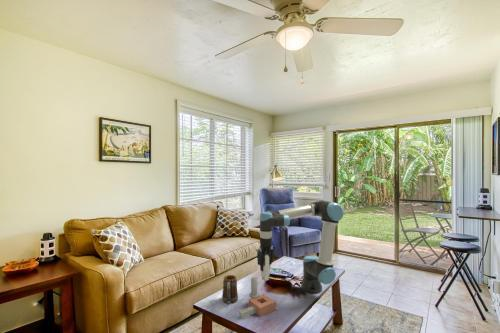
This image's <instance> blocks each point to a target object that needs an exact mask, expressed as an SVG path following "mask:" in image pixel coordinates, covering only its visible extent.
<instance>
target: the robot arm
mask: <svg viewBox="0 0 500 333" xmlns="http://www.w3.org/2000/svg"><path fill="white" fill-rule="evenodd" d="M308 216H309V217H321V218H320V221H321V222H322V228H321V235H320V244H319V252H318V256H316V255H307V256H304V257H303V260H302V263H303V264H302V270H303V271H302V276H303V277H302V281H301V284H300V289H301V290H302V291H303V292H305V293H308V294H319V293H321V292H322V291H323V285H330V284H332V282H334V281H335V279H336V276H337V272H336V270H335V269H334V262H333V261H332V258H333V250H334V244H335V242H334V241H335V236H336V227H337V226H338V225H339V223H340V222H339V221H341V220H342V219H343V217H344V209H343V207H342V205H340V204H339V203H337V202H333V201H328V200H319V201H314V202H309V203H307V204H306V205H300V206H296V207H290V208H285V209H280V210H279V209H278V210H273V211H272V210H267V211H262V212H260V214H259V244H260V245H259V248H256V254H257V256H256V258H257V266H259V267H260V275H261V277H262V276H263V277H265V266H264V261H265V255H266V254H268V256H269V276H270V275H271V274H270V273H271V272H270V271H271V270H270V269H271V265H272V263H273V262H274V257H275V256H274V254H275V252H274V251H275V249H276V248H275V245H274V246H273V245H272V242H273V239H272V236H273V228H284V227H285V228H286V227H289V226H290V224H291V220H294V219H298V218H304V217H308ZM322 284H323V285H322Z"/></svg>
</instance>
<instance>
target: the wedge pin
mask: <svg viewBox="0 0 500 333" xmlns="http://www.w3.org/2000/svg"><path fill="white" fill-rule="evenodd" d="M264 266H265V277H263V276H261V280H262V281H264V282H265V281H269V280H270V275H269V256H268V254H266V255H265V261H264Z"/></svg>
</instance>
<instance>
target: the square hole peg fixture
mask: <svg viewBox="0 0 500 333" xmlns="http://www.w3.org/2000/svg"><path fill="white" fill-rule="evenodd" d="M250 281H251V282H250V283H251V284H250V286H251V287H250V290H251V291H250V292H249V297H250V298H249V299H248V307H246V308H243V309H241V310H239V312H238V313H239V314H238V317H239V318H241V319H245V318H247V317H249V316H251V315H254V314H257V315H258V316H259V317H263V316H265V315H267V314H270V313H272V312H274V311H276V310H277V309H276V308H277V306H276V301H275V300H273V299H272V298H270V297H269V296H267V295H265V294H264V293H263V294H260V293H259V292H258V277H257V276H254V277H251V278H250Z"/></svg>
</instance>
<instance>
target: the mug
mask: <svg viewBox="0 0 500 333" xmlns="http://www.w3.org/2000/svg"><path fill="white" fill-rule="evenodd" d="M222 284H223V285H222V296H221V300H222V302H223V303H225V304H227V305H231V304H235V303H237V301H238V300H239V299H238V298H239V295H238V282H237V277H236V275H234V274H227V275H225V276H224V277H223V281H222Z"/></svg>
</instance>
